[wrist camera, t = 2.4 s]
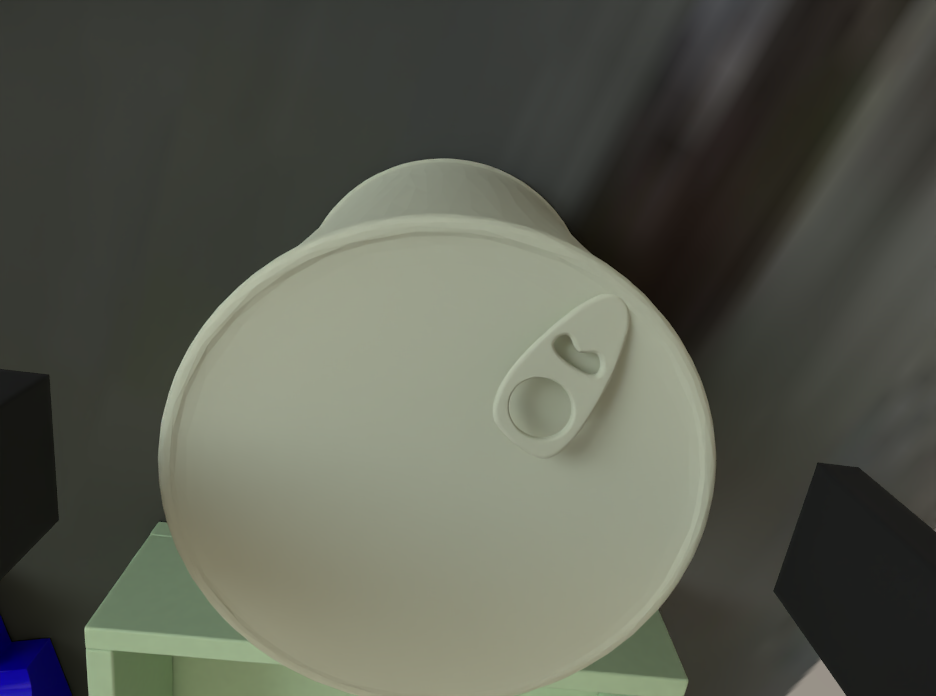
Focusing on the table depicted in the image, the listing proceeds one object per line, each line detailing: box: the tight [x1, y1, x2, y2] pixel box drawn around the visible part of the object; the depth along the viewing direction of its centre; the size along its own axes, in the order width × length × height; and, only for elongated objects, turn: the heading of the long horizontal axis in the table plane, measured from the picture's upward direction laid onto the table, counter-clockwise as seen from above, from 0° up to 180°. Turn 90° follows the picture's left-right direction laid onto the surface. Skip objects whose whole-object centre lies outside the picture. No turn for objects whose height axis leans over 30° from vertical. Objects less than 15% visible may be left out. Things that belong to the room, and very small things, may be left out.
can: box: [158, 158, 716, 696], centre depth 16 cm, size 9×9×12 cm
